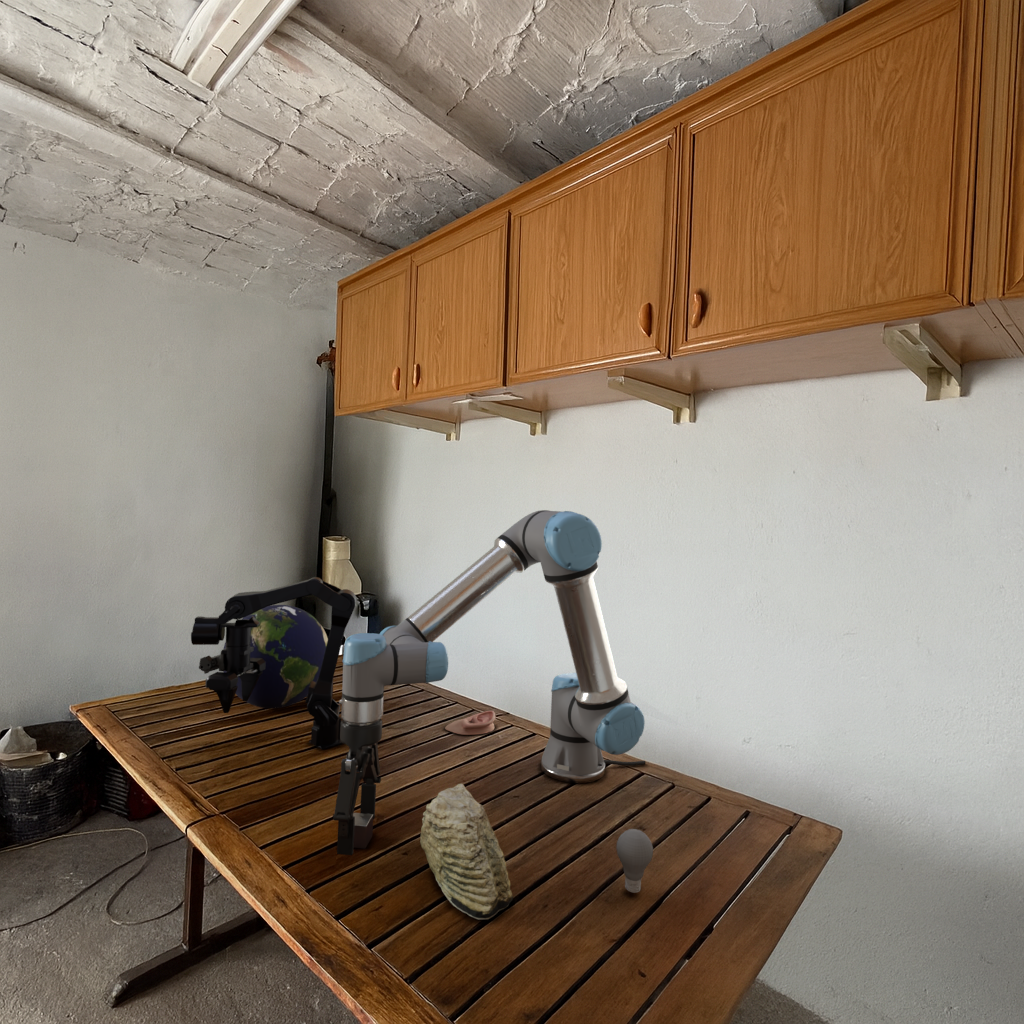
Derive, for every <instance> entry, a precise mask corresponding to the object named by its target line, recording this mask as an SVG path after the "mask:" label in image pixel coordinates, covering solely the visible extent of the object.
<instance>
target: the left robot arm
mask: <svg viewBox="0 0 1024 1024" xmlns="http://www.w3.org/2000/svg"><path fill="white" fill-rule="evenodd" d="M307 596H308V597H309V596H314V597H316V598H318V599H319V600H320V601H322V602H323V603H325V604H326V605H328V606H330V607H331V612H330V613H331V614H330V615H331V616H330V617H331V618H330V630H329V634H328V636H327V638H328V641H327V646H326V650H325V654H324V658H323V662H322V666H321V670H320V674H319V677H318V680H317V682H314V681H311V683H310V686H309V690H308V695H307V697H306V698H305V701H304V704H305V705H306V711H307V713H308V714H309V715H310V716H311V717H313V721H312V722H313V723H312V727H311V730H310V731H311V732H310V733H311V735H310V739H309V740H308V743H309V744H310V745H313V746H314V747H316V748H318V749H320V750H327V749H329V748H333V747H336V746H340V745H344V743H342V742H341V740H340V727H341V721H342V718H341V716H340V711H341V705H340V704H339V702H337V701H336V700H335V699H333V695H334V694H333V693H334V677H335V674H336V673H335V671H336V668H337V664H338V660H339V656H340V652H341V648H342V643H343V640H344V635H345V632H346V631H345V630H346V628H347V626H348V624H349V622H350V619H351V617H352V615H353V613H354V611H355V608H356V605H357V596H356V595H355V592H353V591H352V590H350V589H347V588H344V589H341V588H340V587H338V586H336V585H333V584H331V583H329V582H326V581H325V580H323V579H322V578H321V577H318V576H313V577H310V578H309V579H306V580H301V581H298V582H293V583H289V584H287V585H283V586H279V587H276V588H272V589H268V590H261V591H259V590H257V591H245V592H237V593H236V594H234V595H232V596H231V597H229V598H228V599H227V601H226V602H225V604H224V611H223V612H222V613H220V615H218V617H216V616H215V617H212V616H209V617H208V616H196V617H195V618H194V623H193V625H192V630H191V632H190V642H191V644H192V645H193V646H197V645H198V646H203V645H204V646H217V645H219V644H220V642H221V641H224V640H225V642H226V648H225V649H224V648H223V649H221V650H220V654H218V655H214V656H210V655H207V656H203V657H201V658H199V662H198V663H199V665H198V669H199V670H200V671H202V672H203V673H204V675H206V674H209V673H210V672H214V671H216V670H218V671H217V672H214V673H212V674H210V675H208V677H206V678H205V686H204V687H205V688H206V689H209V690H210V691H213V692H214V693H215V694H216V695H217V697H218V700H219V703H220V706H221V708H222V711H223V713H224V714H229V713H230V710H231V708H232V706H233V702H234V699H235V696H236V694H235V693H236V691H237V688H238V686H236V685H237V682H238V676H239V678H240V679H241V687H242V698H243V700H242V701H243V702H245V701H248V699H249V697H250V695H251V693H252V691H253V689H254V687H255V685H256V683H257V681H258V679H259V678H260V676H261V674H262V673H263V670H265V666H266V662H265V661H264V660H263V659H262V658H250V652H252V651H254V647H250V645H251V627H257V626H258V625H259V624H260V622H259V621H257V620H256V619H255V618H254V616H252V617H251V618H250V619H243V618H244V617H246V616H248V615H250V614H253V613H255V612H257V611H259V610H261V609H263V608H265V607H267V606H272V605H279V604H282V603H286V602H290V601H293V600H297V599H300V598H305V597H307ZM232 620H235V622H231V621H232ZM223 671H226V672H227V673H226V672H223Z"/></svg>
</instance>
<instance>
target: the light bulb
mask: <svg viewBox="0 0 1024 1024" xmlns="http://www.w3.org/2000/svg"><path fill="white" fill-rule="evenodd" d="M615 849H616V854H617V857H618V859H619V861H620V863H621V865H622V867H623V873H624V874H623V875H624V876H625V878H624V888H625V890H627V891H628V892H630V893H634V894H635V893H639V892H640V891H641V889H642V887H641V886H642V879H643V877H644V875H645V871H646V868H647V867H648V866H649V864H650V863H651V861H652V859H653V855H654V847H653V843H652V841H651V838H649V836H648V835H647V834H646V833H645V832H643V831H642V830H641V829H636V828H629V829H627V830H625V831H623V832H622V833H621V834H620V835H619V837H618V839H617V841H616V847H615Z"/></svg>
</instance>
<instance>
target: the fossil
mask: <svg viewBox="0 0 1024 1024" xmlns="http://www.w3.org/2000/svg"><path fill="white" fill-rule="evenodd" d="M422 816H423V817H422V818H421V821H422V825H421V827H420V828H421V829H420V837H419V838H420V841H419V843H420V847H421V849H422V850H423V851H424V853H425V856H426V860H427V862H428V863H427V864H428V866H429V868H430V870H431V872H432V873H433V874H434V877H435V881H436V882H437V884H438V886H439V887H440V889H441V891H442V893H443V895H444V896H445V897H446V899H447V900H448V901H449V903H450V904H451V905H452V906H453V907H455V908H456V909H457V910H459V911H461V912H462V913H464V914H467V915H468V917H471V918H473V919H476V920H479V921H480V920H489V919H491V918H493V917H494V916H495V915H497V914H498V912H500V911H503V910H504V909H506V908H507V907H509V905H510V904H511V902H512V901H513V900H514V897H513V893H512V890H511V881H510V879H509V872H508V869H507V862H506V860H505V855H504V852H503V849H501V846H500V844H499V839H498V838H497V836H496V833H495V831H494V829H493V827H492V825H491V823H490V820H489V817H488V815H487V812H486V810H485V806H483V805H482V804H480V803H479V802H478V801H477V800H476V799H475V798H474V796H473V795H472V794H471V792H470V791H469V790H468V789H467V788H466V787H465V785H464V783H457V785H455V786H453V787H448V788H445V789H444V790H441V791H439V792H438V794H437V796H436V797H435V798H433V799H432V800H431V802H430V803H427V804H426V807H425V811H424V812H423V813H422Z"/></svg>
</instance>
